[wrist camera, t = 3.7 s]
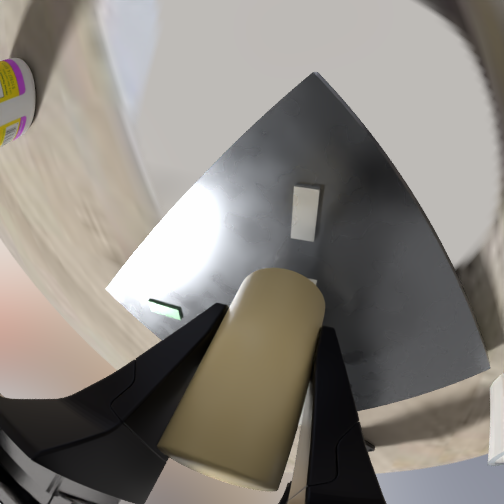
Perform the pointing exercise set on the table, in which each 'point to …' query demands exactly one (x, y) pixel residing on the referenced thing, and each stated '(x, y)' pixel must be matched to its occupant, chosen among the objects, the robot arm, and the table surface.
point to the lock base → (316, 248)
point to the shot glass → (496, 422)
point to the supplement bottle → (15, 99)
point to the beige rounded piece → (251, 383)
